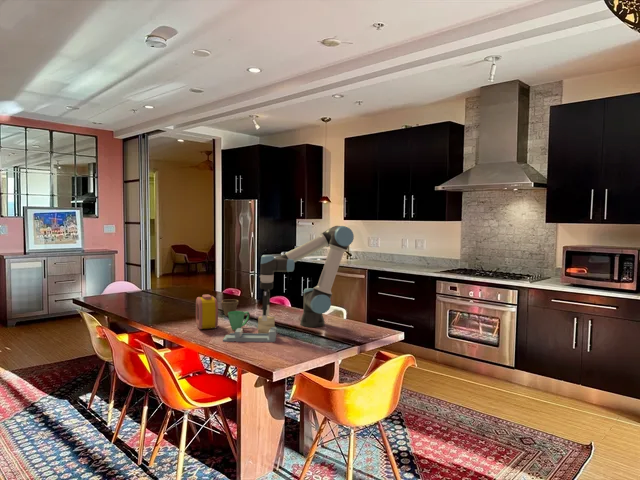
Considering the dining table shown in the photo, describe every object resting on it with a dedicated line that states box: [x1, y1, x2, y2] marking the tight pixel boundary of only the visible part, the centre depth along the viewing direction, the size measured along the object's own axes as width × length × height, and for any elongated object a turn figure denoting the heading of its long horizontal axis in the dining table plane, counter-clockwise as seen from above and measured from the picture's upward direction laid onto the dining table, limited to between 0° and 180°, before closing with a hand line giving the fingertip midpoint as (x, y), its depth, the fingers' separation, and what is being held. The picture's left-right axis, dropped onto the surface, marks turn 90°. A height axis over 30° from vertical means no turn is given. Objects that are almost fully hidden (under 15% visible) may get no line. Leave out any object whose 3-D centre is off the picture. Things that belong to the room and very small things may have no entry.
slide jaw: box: [234, 327, 244, 338], centre depth 251 cm, size 9×3×4 cm, turn 1°
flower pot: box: [221, 298, 239, 317], centre depth 310 cm, size 12×11×10 cm
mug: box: [227, 310, 251, 331], centre depth 274 cm, size 15×10×10 cm
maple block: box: [257, 315, 276, 333], centre depth 265 cm, size 5×9×9 cm, turn 91°
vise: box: [222, 326, 277, 343], centre depth 251 cm, size 10×28×6 cm, turn 91°
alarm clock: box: [195, 294, 219, 330], centre depth 275 cm, size 18×11×19 cm, turn 22°
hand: (265, 318), depth 265 cm, fingers open, 13 cm apart
